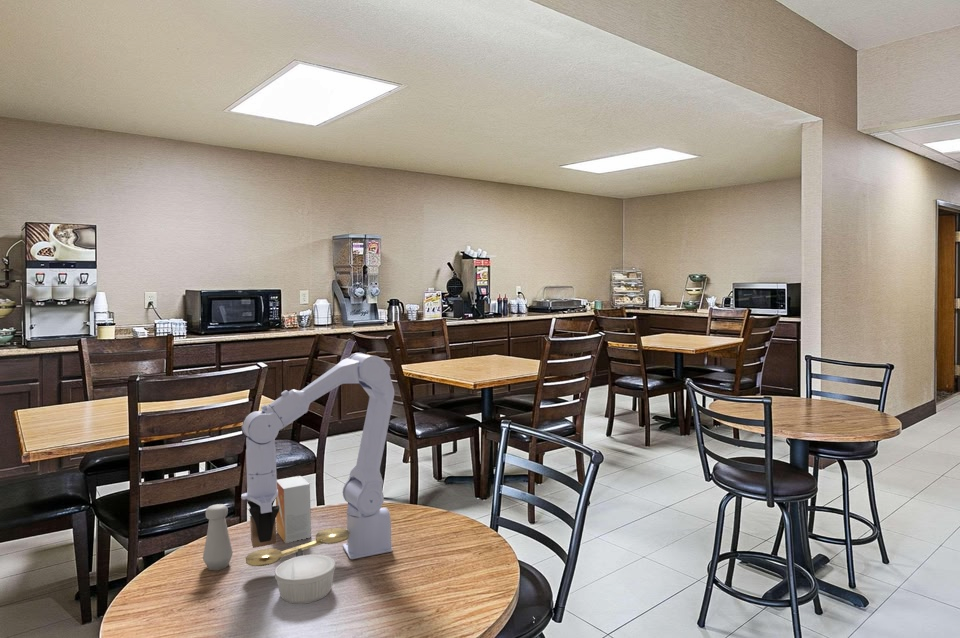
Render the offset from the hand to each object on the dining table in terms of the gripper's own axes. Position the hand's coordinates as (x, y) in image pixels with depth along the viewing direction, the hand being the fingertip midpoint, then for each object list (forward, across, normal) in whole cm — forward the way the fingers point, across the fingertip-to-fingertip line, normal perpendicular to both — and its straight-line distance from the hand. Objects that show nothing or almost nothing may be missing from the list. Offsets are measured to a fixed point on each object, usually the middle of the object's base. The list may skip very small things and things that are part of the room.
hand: (263, 536), depth 125 cm
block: (+1, 0, 0) cm, 1 cm away
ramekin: (+8, +11, +6) cm, 15 cm away
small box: (+8, -19, +8) cm, 22 cm away
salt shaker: (+8, -9, -9) cm, 15 cm away
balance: (+8, 0, +7) cm, 11 cm away
